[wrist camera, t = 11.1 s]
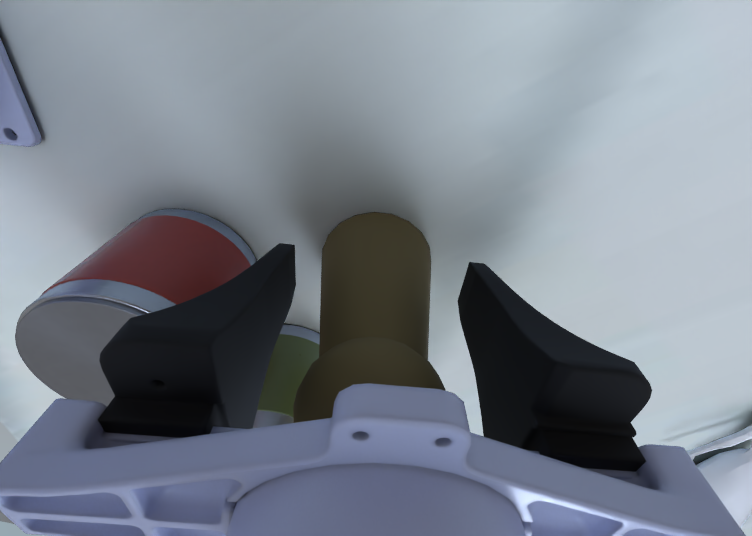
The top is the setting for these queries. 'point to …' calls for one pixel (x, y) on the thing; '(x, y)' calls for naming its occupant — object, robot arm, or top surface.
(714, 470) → the woman figurine
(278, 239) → the top surface
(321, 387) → the cork
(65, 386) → the red tin
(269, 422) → the green tin
